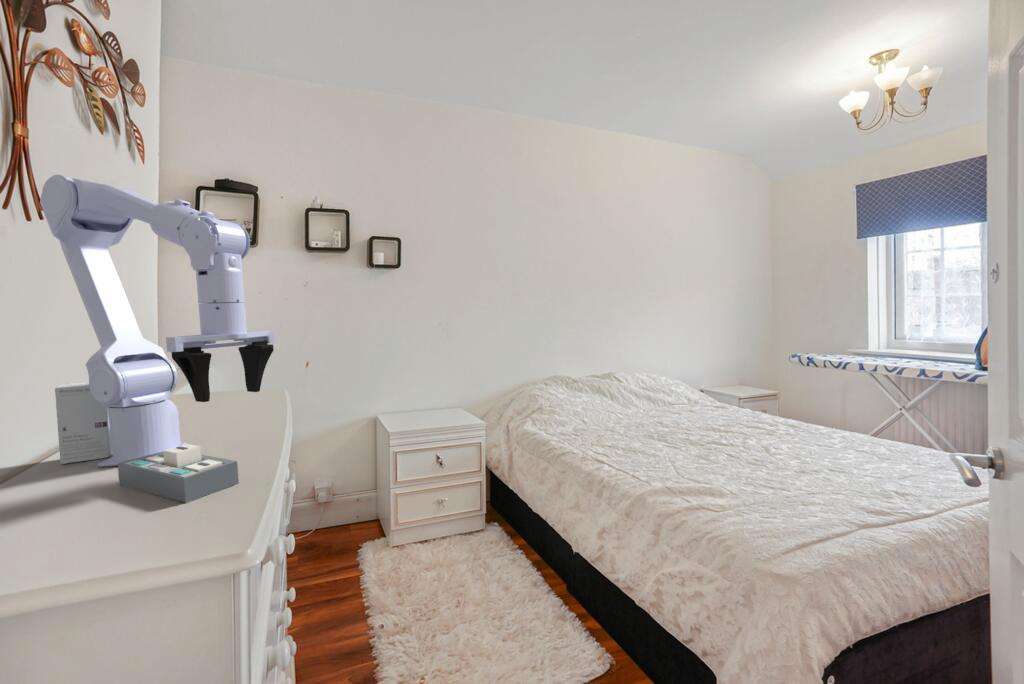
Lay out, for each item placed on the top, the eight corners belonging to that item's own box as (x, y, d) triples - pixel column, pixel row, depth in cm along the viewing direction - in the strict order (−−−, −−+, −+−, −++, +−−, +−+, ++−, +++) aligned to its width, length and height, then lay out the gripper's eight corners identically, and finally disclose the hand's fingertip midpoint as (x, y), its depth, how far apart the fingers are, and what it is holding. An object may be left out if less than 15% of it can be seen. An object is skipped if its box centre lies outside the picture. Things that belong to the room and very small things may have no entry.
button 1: (146, 473, 63) (145, 457, 63) (170, 466, 66) (169, 451, 66) (159, 476, 62) (157, 460, 62) (183, 468, 65) (181, 453, 64)
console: (119, 485, 62) (117, 461, 62) (173, 468, 68) (171, 447, 68) (185, 503, 56) (183, 476, 55) (238, 483, 61) (237, 459, 61)
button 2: (185, 482, 59) (184, 465, 59) (209, 474, 62) (208, 458, 62) (200, 486, 58) (198, 468, 58) (223, 477, 61) (222, 461, 61)
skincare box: (59, 465, 71) (51, 387, 70) (67, 458, 75) (59, 384, 74) (112, 457, 75) (104, 383, 74) (116, 450, 78) (109, 379, 77)
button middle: (164, 466, 61) (163, 449, 61) (188, 458, 64) (187, 443, 64) (177, 468, 60) (176, 452, 60) (201, 461, 63) (200, 445, 62)
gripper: (185, 303, 59) (193, 408, 60) (284, 302, 72) (290, 388, 73) (153, 304, 62) (162, 404, 63) (254, 303, 75) (260, 386, 76)
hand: (229, 396), depth 68 cm, fingers open, 7 cm apart
